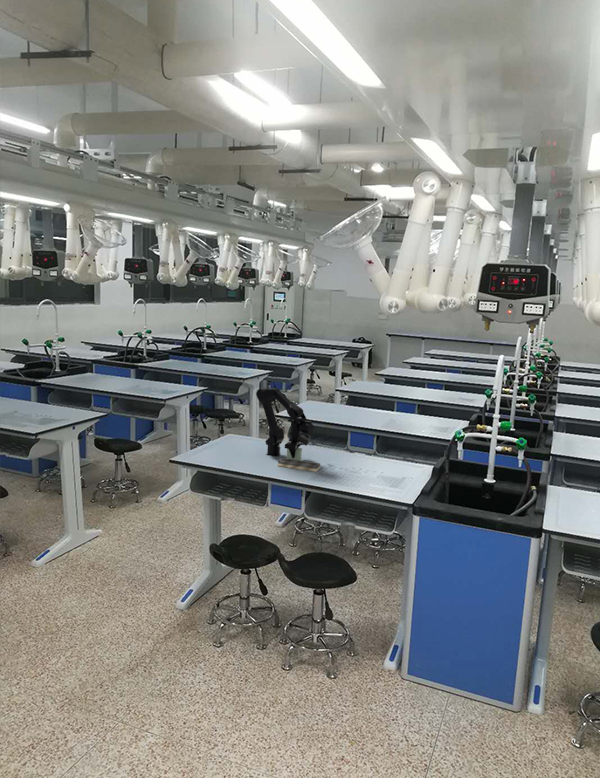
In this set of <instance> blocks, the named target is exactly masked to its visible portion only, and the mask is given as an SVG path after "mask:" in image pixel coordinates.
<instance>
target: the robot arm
mask: <svg viewBox="0 0 600 778" xmlns="http://www.w3.org/2000/svg"><path fill="white" fill-rule="evenodd" d="M255 395H256V398H257V400H258V402H259V403H260V404H261V405H262V407H263V411H264V414H265V418H266V420H267V424H268V427H269V431H268V438H267V439H266V440H265V445H267V452H266V454H265V455H266V456H271V457H278V456H279V455H281V446H280V445H281V444H282V443H283V441H284V439H285V431H284V429H283V427H280V426H279V425H278V421H277V418H276V415H275V411H274V409H273V404H272V396H273V398H274V399H275V400H276V401H277V402H279V403H278V404H280V405H281V406H282V407H283V408H284V410H286V412H287V415H288V416H289V417H290V418H289V419H288V420H287V422H290V431H289V433H288V434H289V436H290V437H289V439H288V442H286V443H285V444H284V449H286V450H287V449H289V451H290V453H291V456H292V458H294V457H295V453H296V449H297V448H301V446H302V444H303V445H304V446H306V447H307V446H308V445H310V441H311V434H312V433H313V432H314V427H315V426H314V424H313V421H311V420H308V418H307V417H306V415H305V413H304V410H303V408H301V407H300V406H299V405H297V404H294V403H293V402H291V401H292V400H290V399H289V398H288V397H287V396H286V395H284V394H283V392H282V391H281V390H280V389H279V388H277V387H276V388H268V387H263V388H259V389H257V391H256V392H255ZM303 433H304V434H306V435H304V434H303Z"/></svg>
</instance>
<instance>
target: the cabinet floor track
mask: <svg viewBox="0 0 600 778" xmlns="http://www.w3.org/2000/svg"><path fill="white" fill-rule="evenodd" d="M276 466H277V467H282V468H289V469H295V470H301V471H309V472H315V473H316V472H318V470H319V469H321V467H322V466H321V463H319V462H312V461H305V460H301V461H300V460H293V459H287V457H280V458H279V460H277V464H276Z"/></svg>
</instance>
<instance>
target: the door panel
mask: <svg viewBox="0 0 600 778" xmlns="http://www.w3.org/2000/svg"><path fill="white" fill-rule="evenodd" d="M302 452H303V448H301V447H299V448H297V449H296V453H295V457H294V458H292V456H291V453H290V451H289V449H287V448H286V459H293V460H300V461H302V455H303V454H302Z"/></svg>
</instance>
